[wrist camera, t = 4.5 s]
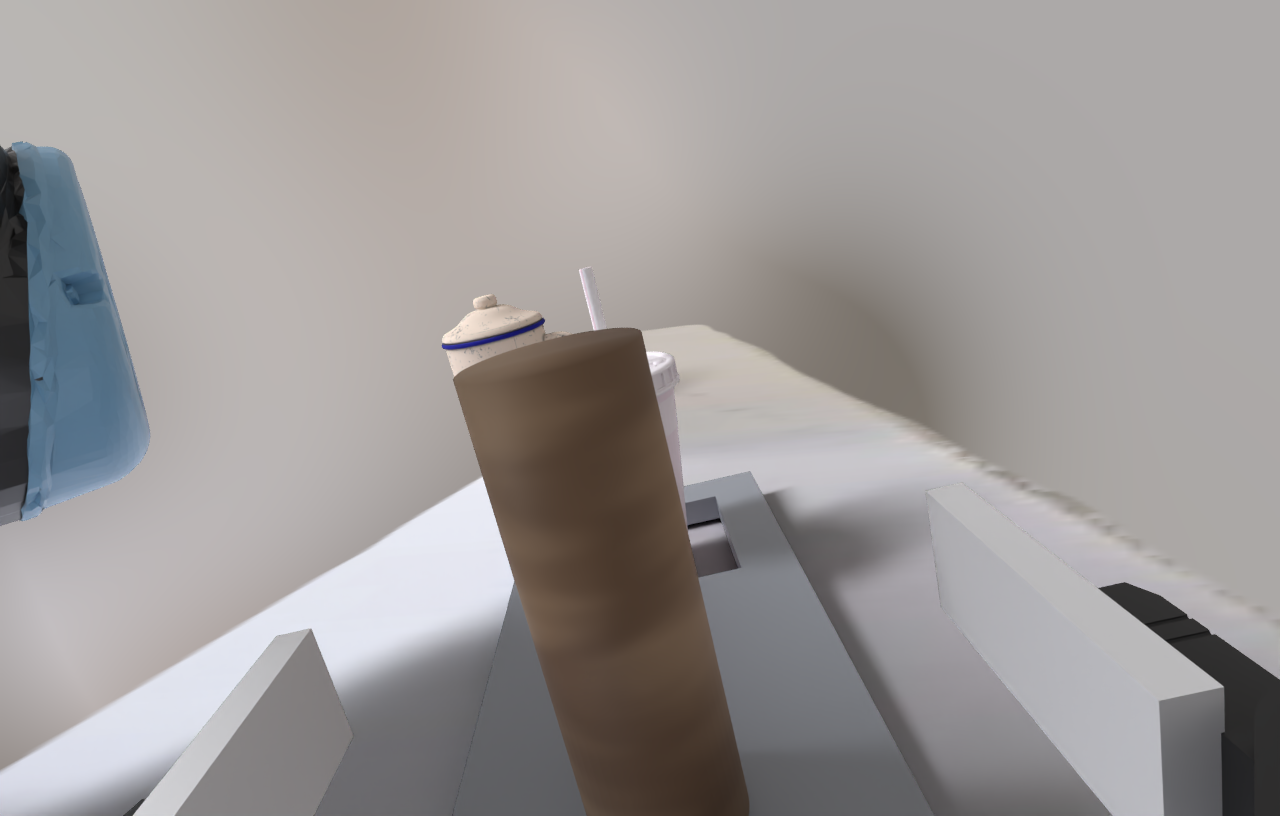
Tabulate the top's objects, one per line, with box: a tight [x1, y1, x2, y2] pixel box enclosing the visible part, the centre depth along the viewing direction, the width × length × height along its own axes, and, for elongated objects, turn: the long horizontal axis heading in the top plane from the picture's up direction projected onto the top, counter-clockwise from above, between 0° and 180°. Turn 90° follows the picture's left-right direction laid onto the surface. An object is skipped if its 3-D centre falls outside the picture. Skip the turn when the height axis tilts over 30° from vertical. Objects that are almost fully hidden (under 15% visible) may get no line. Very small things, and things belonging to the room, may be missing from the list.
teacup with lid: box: [442, 294, 572, 377], centre depth 64 cm, size 12×9×12 cm
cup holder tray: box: [452, 328, 934, 816], centre depth 26 cm, size 12×24×13 cm, turn 2°
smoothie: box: [579, 267, 688, 531], centre depth 31 cm, size 6×6×14 cm
